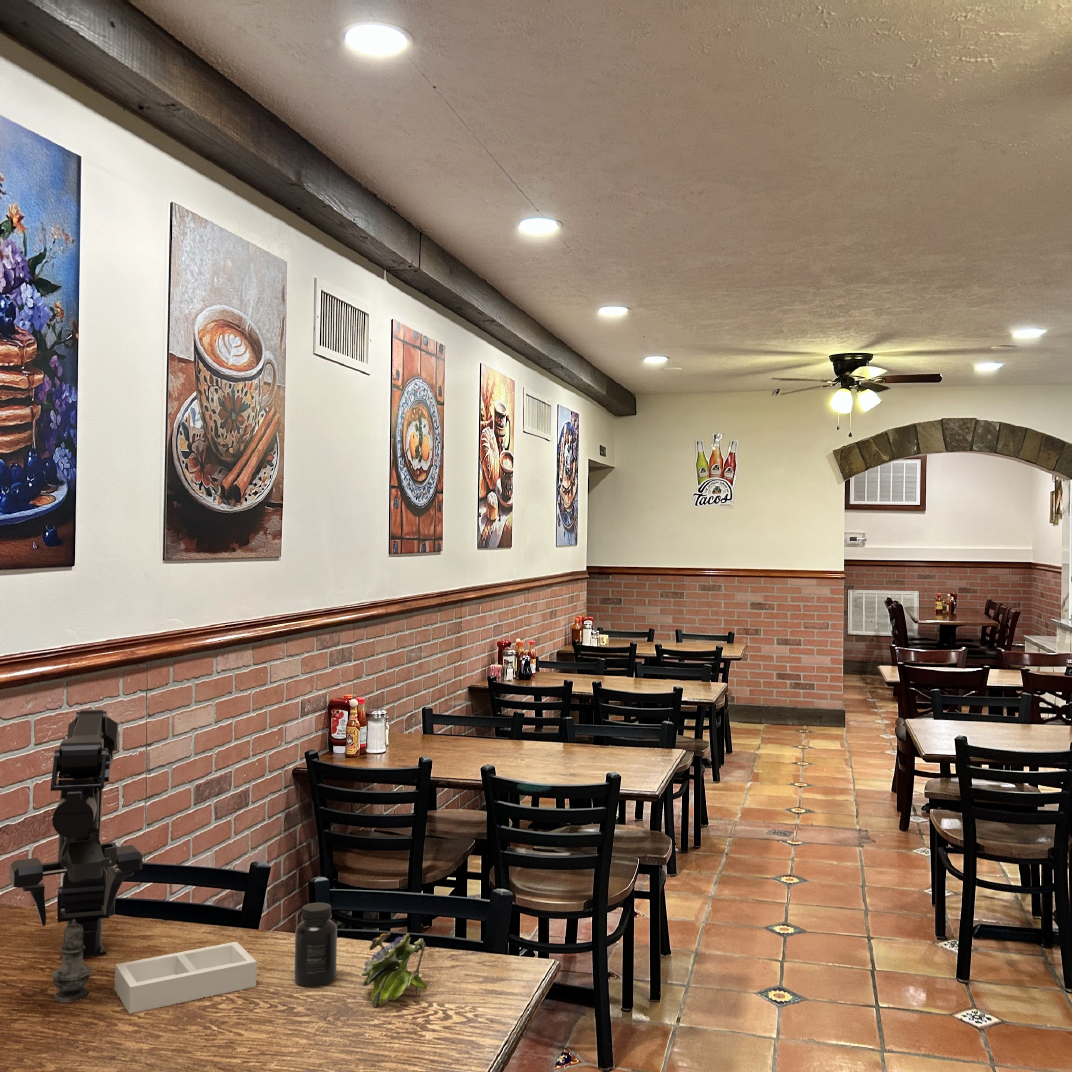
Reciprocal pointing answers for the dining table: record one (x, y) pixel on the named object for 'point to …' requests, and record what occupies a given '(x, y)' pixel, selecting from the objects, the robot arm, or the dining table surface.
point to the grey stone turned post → (72, 967)
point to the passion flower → (392, 968)
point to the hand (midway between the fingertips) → (75, 919)
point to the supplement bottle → (315, 946)
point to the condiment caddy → (184, 976)
